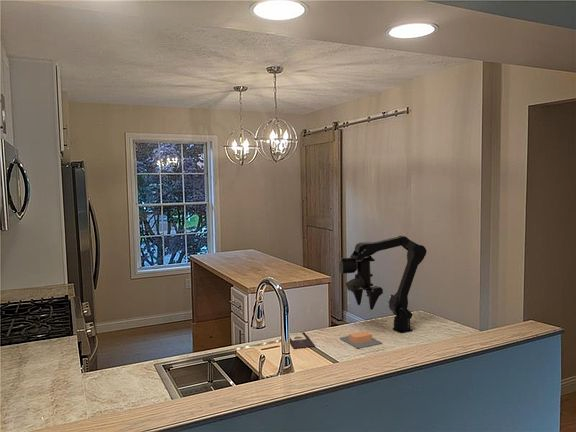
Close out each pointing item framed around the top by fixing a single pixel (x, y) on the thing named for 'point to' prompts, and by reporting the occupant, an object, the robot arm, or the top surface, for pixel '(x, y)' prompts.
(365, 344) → the mat
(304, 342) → the chocolate bar
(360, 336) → the tile
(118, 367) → the top surface
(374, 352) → the top surface
